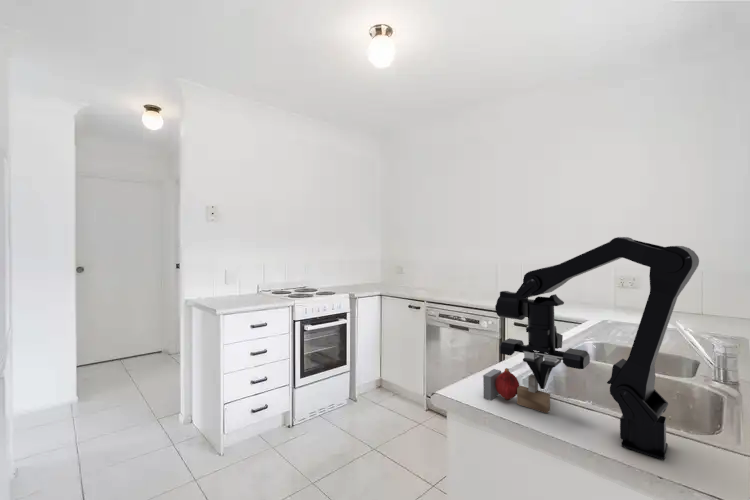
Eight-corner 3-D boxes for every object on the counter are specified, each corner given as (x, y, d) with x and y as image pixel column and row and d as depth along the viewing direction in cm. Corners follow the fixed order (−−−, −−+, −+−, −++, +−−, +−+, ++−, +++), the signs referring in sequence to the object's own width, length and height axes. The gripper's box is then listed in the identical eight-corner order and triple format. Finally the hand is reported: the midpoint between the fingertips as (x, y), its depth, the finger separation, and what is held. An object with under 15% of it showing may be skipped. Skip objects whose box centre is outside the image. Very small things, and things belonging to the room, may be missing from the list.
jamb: (501, 393, 93) (501, 370, 93) (490, 400, 89) (490, 376, 89) (494, 390, 94) (493, 368, 94) (483, 398, 90) (483, 375, 90)
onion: (524, 404, 86) (523, 372, 86) (501, 405, 86) (501, 373, 86) (512, 394, 92) (512, 364, 92) (491, 395, 91) (491, 365, 91)
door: (550, 410, 83) (549, 378, 82) (547, 413, 81) (547, 381, 81) (520, 401, 87) (520, 371, 87) (517, 404, 86) (516, 373, 86)
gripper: (594, 322, 82) (596, 388, 82) (515, 313, 95) (517, 370, 95) (581, 330, 74) (583, 404, 74) (497, 320, 87) (499, 382, 87)
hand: (542, 388), depth 83 cm, fingers closed
